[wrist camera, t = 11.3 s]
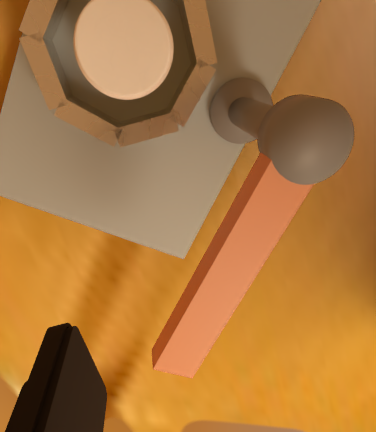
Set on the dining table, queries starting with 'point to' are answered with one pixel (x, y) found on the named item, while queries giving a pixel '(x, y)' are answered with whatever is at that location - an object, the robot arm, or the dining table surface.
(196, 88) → the socket
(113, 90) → the supplement bottle
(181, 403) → the dining table surface
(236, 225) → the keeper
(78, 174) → the board
